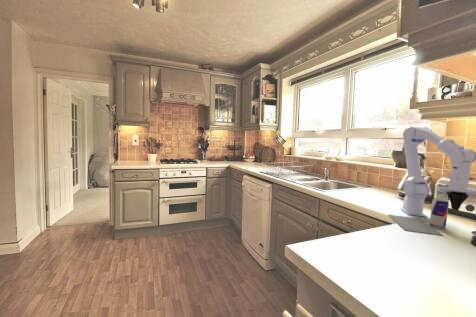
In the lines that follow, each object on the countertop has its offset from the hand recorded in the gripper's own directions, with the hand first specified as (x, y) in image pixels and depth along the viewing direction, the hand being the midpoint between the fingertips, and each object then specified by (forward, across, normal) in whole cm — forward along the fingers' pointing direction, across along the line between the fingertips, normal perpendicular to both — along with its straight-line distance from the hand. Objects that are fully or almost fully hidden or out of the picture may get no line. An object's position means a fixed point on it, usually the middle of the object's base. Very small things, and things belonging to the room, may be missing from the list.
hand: (454, 209), depth 99 cm
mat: (+8, -15, -1) cm, 17 cm away
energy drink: (+9, -5, 0) cm, 10 cm away
